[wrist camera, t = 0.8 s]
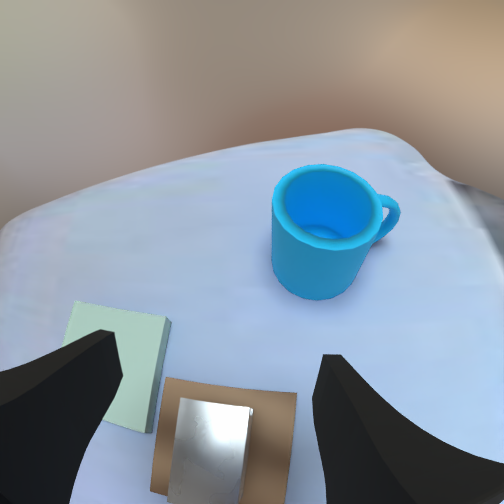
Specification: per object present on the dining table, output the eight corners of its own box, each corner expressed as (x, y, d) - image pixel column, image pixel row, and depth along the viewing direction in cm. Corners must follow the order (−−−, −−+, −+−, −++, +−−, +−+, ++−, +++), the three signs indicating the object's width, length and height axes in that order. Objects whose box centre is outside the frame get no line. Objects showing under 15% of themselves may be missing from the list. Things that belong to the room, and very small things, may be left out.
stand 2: (281, 508, 16) (282, 513, 14) (156, 487, 17) (149, 491, 15) (295, 394, 21) (296, 392, 20) (171, 379, 22) (165, 376, 21)
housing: (243, 494, 15) (235, 515, 11) (189, 485, 16) (167, 501, 11) (253, 409, 19) (249, 407, 15) (200, 402, 20) (180, 397, 15)
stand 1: (151, 432, 19) (144, 433, 18) (60, 400, 20) (50, 398, 19) (171, 322, 25) (165, 316, 23) (82, 306, 26) (75, 300, 24)
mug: (287, 311, 25) (294, 264, 18) (261, 235, 29) (258, 174, 22) (402, 274, 26) (438, 223, 19) (367, 210, 30) (387, 153, 23)
